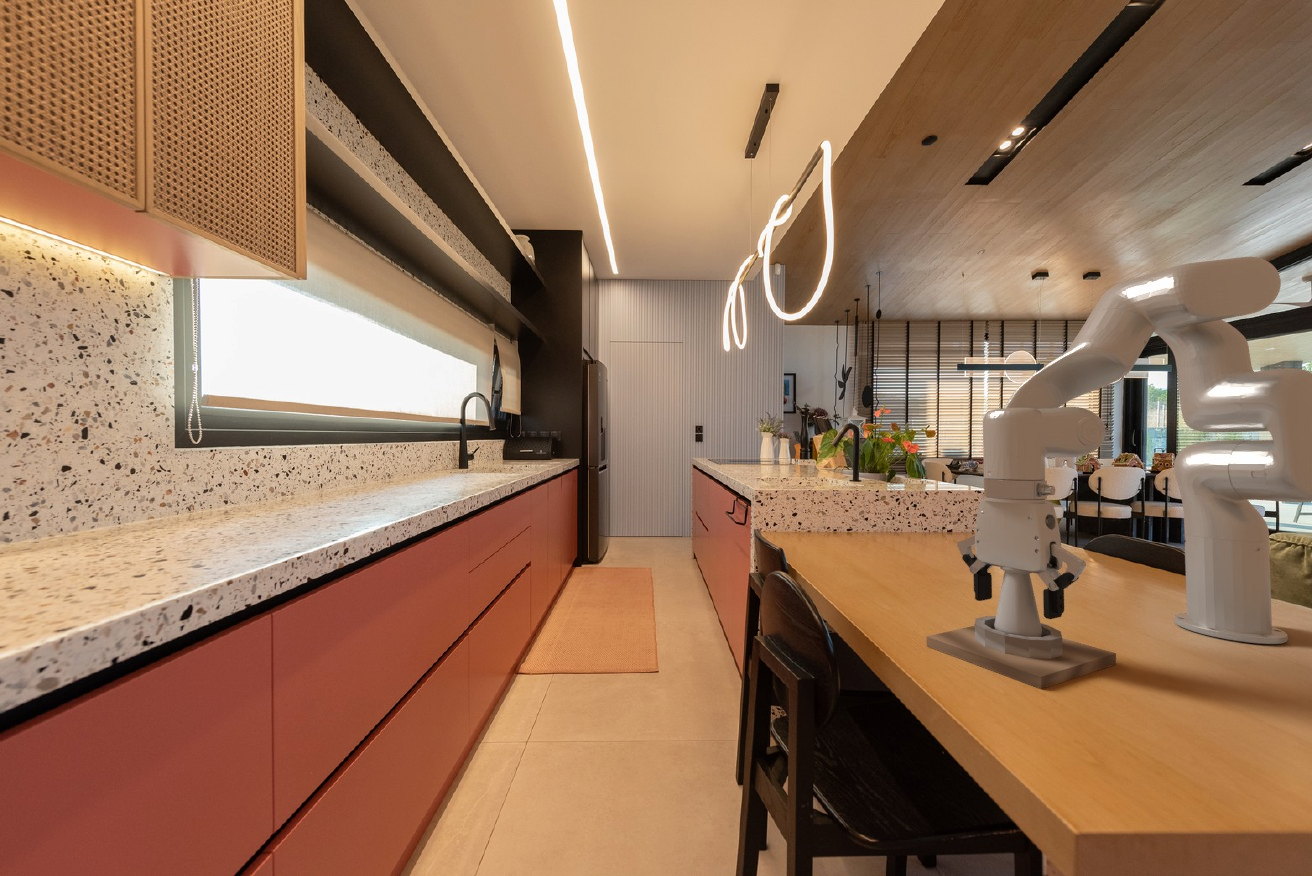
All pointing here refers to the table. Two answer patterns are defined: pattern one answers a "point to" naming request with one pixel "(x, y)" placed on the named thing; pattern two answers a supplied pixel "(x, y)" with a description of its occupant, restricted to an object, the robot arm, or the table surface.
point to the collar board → (1022, 665)
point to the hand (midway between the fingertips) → (1016, 608)
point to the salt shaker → (1017, 605)
